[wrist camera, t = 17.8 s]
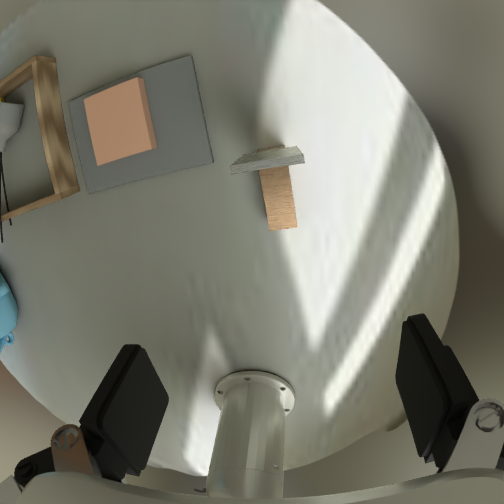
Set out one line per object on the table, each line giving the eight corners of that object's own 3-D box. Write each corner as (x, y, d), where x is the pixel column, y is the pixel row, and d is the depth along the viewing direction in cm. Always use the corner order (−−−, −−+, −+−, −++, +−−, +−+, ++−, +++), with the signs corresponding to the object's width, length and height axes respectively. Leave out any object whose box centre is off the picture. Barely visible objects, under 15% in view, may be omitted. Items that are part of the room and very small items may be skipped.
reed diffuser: (8, 97, 24) (-13, 249, 30) (49, 103, 30) (24, 241, 36) (-14, 95, 26) (-33, 224, 32) (20, 99, 33) (-1, 218, 38)
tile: (151, 149, 29) (137, 77, 26) (97, 166, 30) (83, 99, 27) (158, 147, 31) (144, 78, 28) (105, 163, 32) (91, 99, 29)
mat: (213, 162, 31) (212, 162, 31) (91, 193, 34) (88, 194, 33) (192, 56, 27) (190, 55, 26) (71, 102, 29) (68, 102, 29)
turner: (295, 143, 30) (306, 217, 33) (246, 151, 31) (260, 223, 34) (303, 154, 20) (317, 262, 23) (229, 166, 20) (251, 271, 23)
